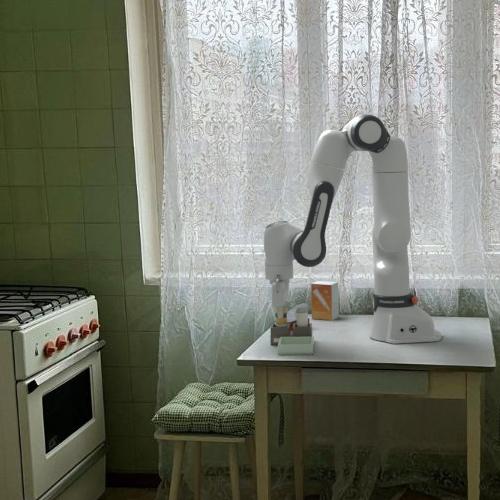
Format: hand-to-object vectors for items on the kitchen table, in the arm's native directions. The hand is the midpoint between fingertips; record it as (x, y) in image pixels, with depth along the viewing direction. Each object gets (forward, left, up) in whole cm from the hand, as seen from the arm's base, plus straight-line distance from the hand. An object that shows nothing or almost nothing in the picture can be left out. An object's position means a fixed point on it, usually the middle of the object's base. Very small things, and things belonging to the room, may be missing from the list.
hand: (281, 315), depth 264 cm
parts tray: (-5, +10, -9) cm, 14 cm away
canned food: (-3, -21, -9) cm, 23 cm away
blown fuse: (0, 0, -4) cm, 4 cm away
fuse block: (-3, 0, -9) cm, 9 cm away
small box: (-13, -36, -9) cm, 39 cm away
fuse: (-7, 0, -6) cm, 9 cm away
